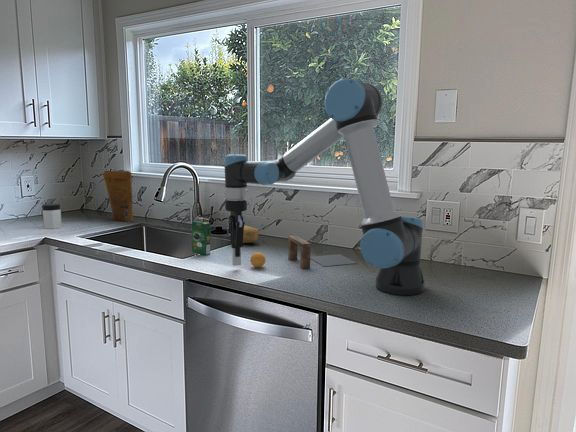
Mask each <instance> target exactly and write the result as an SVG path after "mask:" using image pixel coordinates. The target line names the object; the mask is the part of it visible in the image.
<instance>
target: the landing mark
mask: <svg viewBox="0 0 576 432" xmlns="http://www.w3.org/2000/svg"><path fill="white" fill-rule="evenodd" d="M310 260H312V261H314V263H317V264H319V265H320V266H322V267H325V268H326V267H335V266H345V265H346V266H347V265H355V264H356V265H357V264H358V262H356V261H354V260H352V259H351V258H348V257H346V256H344V255H342V254H341V253H338V254H328V255H326V254H324V255H317V256H310Z"/></svg>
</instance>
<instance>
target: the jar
mask: <svg viewBox="0 0 576 432" xmlns="http://www.w3.org/2000/svg"><path fill="white" fill-rule="evenodd" d="M41 210H42V211H41V212H42V222H43V229H44V230H55V229H60V228H62V227H63V225H62V212H61V211H62V210H61V204H60V203H57V202H56V203H54V202H53V203H51V202H50V203H43V204H42V205H41Z"/></svg>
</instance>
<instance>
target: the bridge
mask: <svg viewBox="0 0 576 432" xmlns="http://www.w3.org/2000/svg"><path fill="white" fill-rule="evenodd" d="M287 241H288V243H287V244H288V247H287V248H288V252H287V254H288V257H287V259H288V261H296V260H297V261H298V246H299V247H300V260H299V261H300V262H299V263H300V265H299V266H300V268H301V270H306V269H311V259H310V257H311V246H312V245H311V242H308V241H307V240H305V239H303V238H301V237H299V236H298V235H296V234H295V235H288V240H287Z"/></svg>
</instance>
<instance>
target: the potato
mask: <svg viewBox="0 0 576 432" xmlns="http://www.w3.org/2000/svg"><path fill="white" fill-rule="evenodd" d="M258 238H259V230H258V229H257V228H255V227H252V226H250V225H245V224H244V232H243V244H252V243H253V242H255V241H257V239H258Z"/></svg>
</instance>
